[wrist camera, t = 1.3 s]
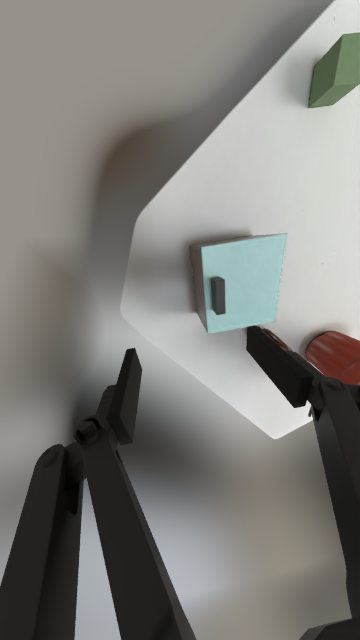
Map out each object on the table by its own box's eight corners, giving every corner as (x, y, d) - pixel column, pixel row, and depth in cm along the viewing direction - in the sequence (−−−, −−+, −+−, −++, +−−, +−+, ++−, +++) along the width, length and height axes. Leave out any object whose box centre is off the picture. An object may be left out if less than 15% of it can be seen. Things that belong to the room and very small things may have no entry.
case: (189, 245, 35) (200, 247, 26) (252, 235, 35) (284, 233, 26) (196, 313, 42) (207, 332, 33) (248, 303, 42) (273, 320, 33)
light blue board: (200, 247, 26) (205, 247, 23) (284, 233, 26) (299, 232, 24) (207, 332, 33) (211, 340, 30) (273, 320, 33) (283, 327, 31)
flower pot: (349, 351, 55) (417, 390, 40) (303, 374, 57) (352, 418, 43) (346, 314, 48) (427, 346, 33) (293, 341, 50) (348, 382, 36)
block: (313, 66, 26) (343, 33, 22) (340, 63, 26) (374, 30, 22) (308, 108, 28) (333, 85, 24) (332, 105, 28) (362, 81, 24)
